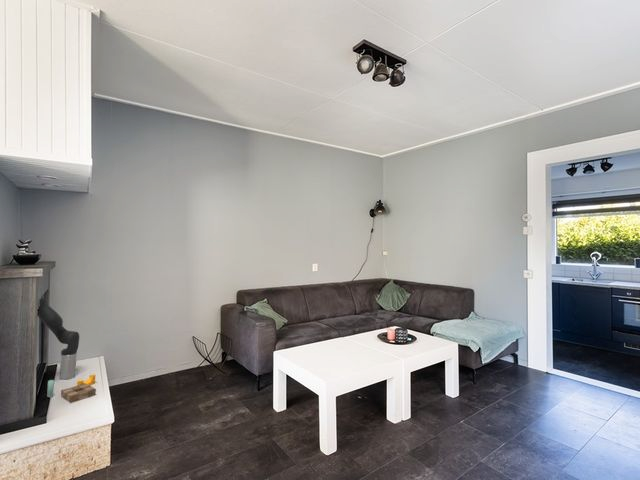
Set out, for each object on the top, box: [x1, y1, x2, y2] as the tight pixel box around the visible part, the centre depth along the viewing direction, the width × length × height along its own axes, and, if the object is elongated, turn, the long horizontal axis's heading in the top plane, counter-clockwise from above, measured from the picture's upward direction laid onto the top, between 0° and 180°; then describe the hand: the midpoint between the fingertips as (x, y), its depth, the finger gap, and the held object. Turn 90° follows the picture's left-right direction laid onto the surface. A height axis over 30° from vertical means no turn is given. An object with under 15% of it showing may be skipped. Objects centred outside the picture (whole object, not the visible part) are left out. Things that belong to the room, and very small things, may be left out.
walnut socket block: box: [60, 383, 97, 404], centre depth 218 cm, size 14×14×4 cm
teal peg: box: [46, 379, 55, 398], centre depth 215 cm, size 3×3×10 cm
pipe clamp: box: [76, 373, 96, 387], centre depth 231 cm, size 12×4×6 cm, turn 171°
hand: (31, 376), depth 211 cm, fingers open, 8 cm apart
